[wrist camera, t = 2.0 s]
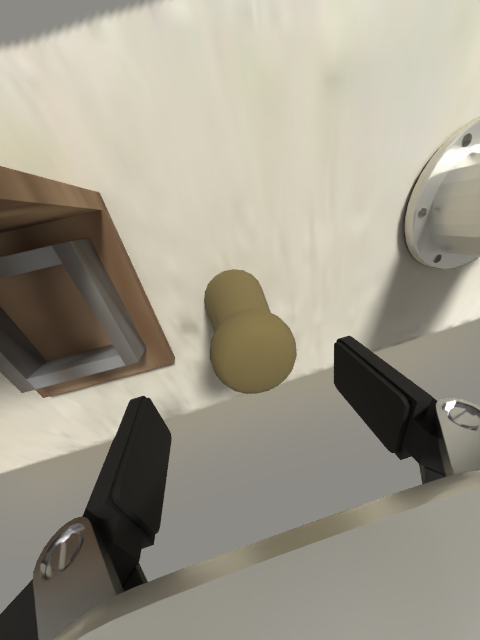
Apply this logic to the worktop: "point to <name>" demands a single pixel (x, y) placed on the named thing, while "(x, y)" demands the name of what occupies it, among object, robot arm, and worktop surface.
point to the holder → (68, 291)
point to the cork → (247, 335)
